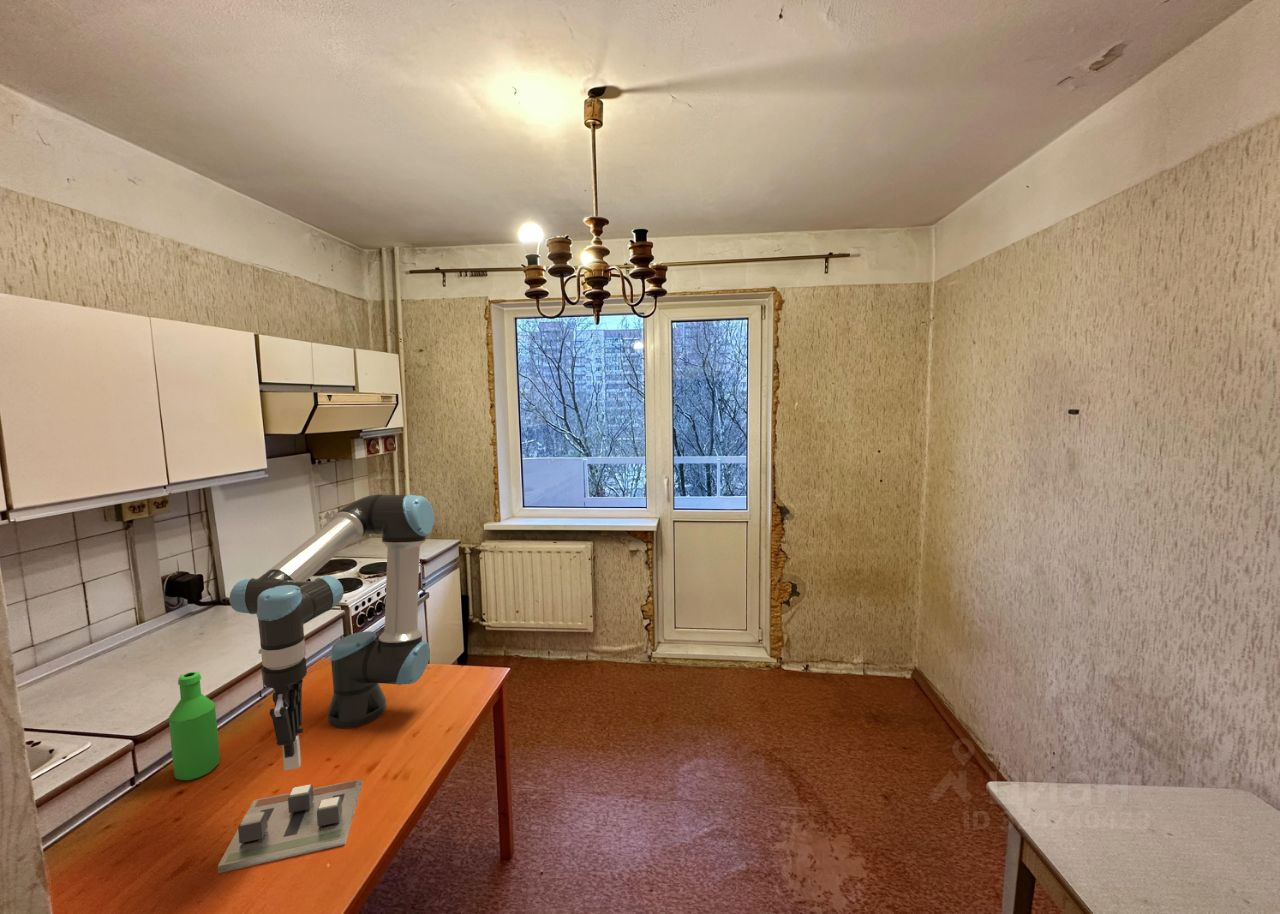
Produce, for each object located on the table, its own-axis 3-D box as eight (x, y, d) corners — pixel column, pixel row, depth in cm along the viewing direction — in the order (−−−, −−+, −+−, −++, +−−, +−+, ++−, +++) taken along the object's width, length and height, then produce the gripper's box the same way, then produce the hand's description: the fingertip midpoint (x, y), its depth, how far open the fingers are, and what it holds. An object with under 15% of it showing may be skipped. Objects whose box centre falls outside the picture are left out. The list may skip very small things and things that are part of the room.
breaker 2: (293, 803, 118) (292, 787, 117) (313, 799, 119) (312, 783, 118) (288, 813, 115) (287, 796, 114) (309, 808, 116) (308, 792, 116)
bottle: (227, 764, 133) (219, 670, 130) (186, 787, 125) (177, 687, 122) (208, 754, 137) (200, 663, 134) (166, 776, 129) (157, 679, 126)
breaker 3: (321, 816, 114) (320, 799, 114) (342, 811, 115) (341, 795, 115) (317, 826, 111) (316, 809, 111) (339, 822, 112) (337, 805, 112)
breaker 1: (245, 831, 110) (243, 814, 109) (267, 827, 111) (266, 810, 110) (239, 843, 107) (237, 825, 106) (262, 838, 108) (261, 820, 108)
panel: (254, 806, 119) (253, 799, 119) (362, 784, 126) (361, 778, 126) (218, 873, 102) (217, 865, 102) (345, 844, 109) (344, 837, 109)
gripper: (274, 650, 114) (282, 751, 117) (250, 680, 102) (260, 792, 104) (313, 645, 116) (320, 744, 119) (295, 674, 104) (303, 784, 107)
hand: (292, 766), depth 112 cm, fingers closed
